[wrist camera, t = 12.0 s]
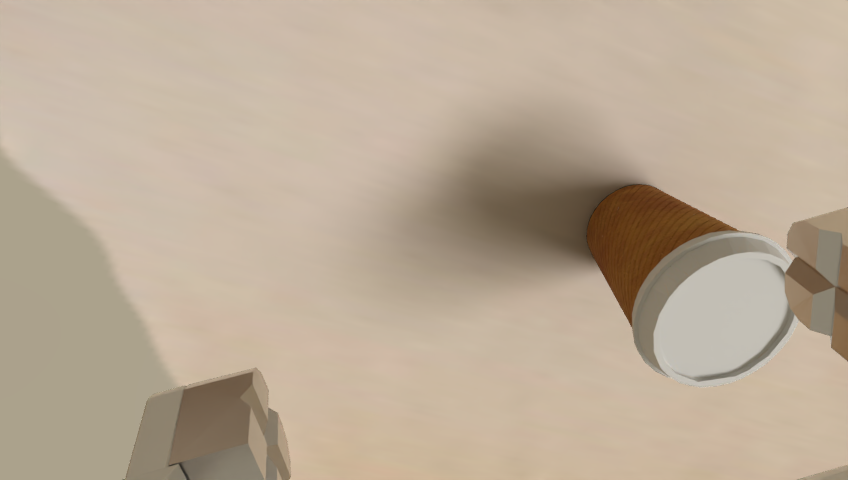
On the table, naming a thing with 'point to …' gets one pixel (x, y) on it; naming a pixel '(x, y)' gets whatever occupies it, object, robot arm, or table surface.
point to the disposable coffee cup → (692, 286)
